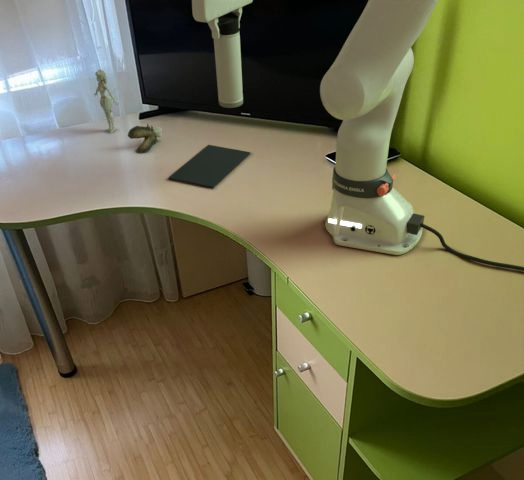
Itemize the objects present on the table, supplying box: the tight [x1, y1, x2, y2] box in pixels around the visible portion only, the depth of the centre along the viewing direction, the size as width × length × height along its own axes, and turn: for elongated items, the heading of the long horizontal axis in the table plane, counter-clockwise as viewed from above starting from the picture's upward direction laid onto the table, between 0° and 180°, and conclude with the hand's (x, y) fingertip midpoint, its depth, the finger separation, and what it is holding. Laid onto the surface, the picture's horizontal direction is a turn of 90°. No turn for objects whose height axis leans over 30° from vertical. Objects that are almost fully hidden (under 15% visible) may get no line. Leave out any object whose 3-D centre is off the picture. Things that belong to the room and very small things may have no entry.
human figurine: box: [93, 69, 120, 134], centre depth 171 cm, size 12×4×18 cm, turn 47°
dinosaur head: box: [127, 123, 163, 154], centre depth 166 cm, size 8×7×9 cm
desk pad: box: [168, 144, 251, 190], centre depth 157 cm, size 14×22×1 cm, turn 154°
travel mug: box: [213, 12, 244, 109], centre depth 136 cm, size 6×7×20 cm
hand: (226, 33), depth 132 cm, fingers closed on travel mug, 6 cm apart
